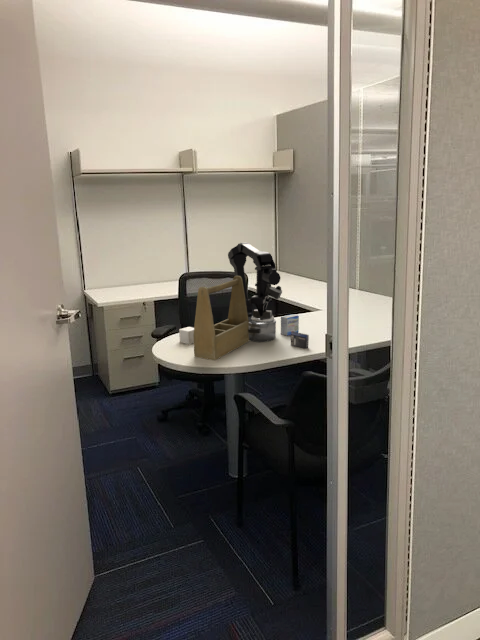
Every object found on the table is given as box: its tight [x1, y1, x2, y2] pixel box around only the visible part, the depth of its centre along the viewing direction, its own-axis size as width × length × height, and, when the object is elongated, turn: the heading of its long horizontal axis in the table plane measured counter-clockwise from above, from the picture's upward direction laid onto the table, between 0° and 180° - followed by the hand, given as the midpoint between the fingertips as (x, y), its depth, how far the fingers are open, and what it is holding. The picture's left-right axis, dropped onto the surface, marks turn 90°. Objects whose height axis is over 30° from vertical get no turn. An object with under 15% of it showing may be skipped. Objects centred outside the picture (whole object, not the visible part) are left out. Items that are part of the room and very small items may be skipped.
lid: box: [250, 308, 275, 322], centre depth 231 cm, size 10×10×4 cm
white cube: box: [178, 326, 194, 345], centre depth 232 cm, size 6×6×6 cm
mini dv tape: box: [290, 332, 310, 350], centre depth 222 cm, size 8×2×6 cm, turn 48°
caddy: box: [193, 275, 249, 361], centre depth 217 cm, size 29×11×30 cm, turn 151°
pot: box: [248, 317, 277, 343], centre depth 236 cm, size 14×19×8 cm
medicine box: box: [280, 314, 300, 336], centre depth 242 cm, size 8×4×9 cm, turn 129°
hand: (262, 314), depth 231 cm, fingers closed on lid, 3 cm apart
